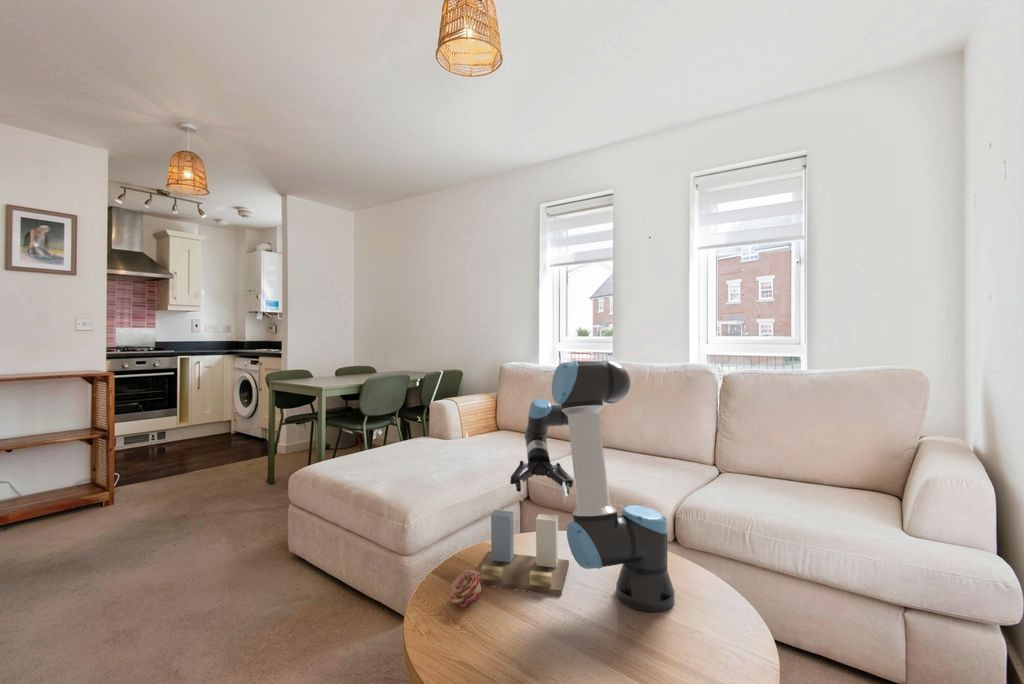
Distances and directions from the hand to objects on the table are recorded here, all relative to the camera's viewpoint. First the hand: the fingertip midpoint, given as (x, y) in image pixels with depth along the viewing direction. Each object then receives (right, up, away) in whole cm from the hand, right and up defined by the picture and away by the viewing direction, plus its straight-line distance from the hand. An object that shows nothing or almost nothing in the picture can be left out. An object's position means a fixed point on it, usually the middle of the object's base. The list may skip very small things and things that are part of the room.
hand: (544, 498), depth 140 cm
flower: (-22, -21, -19) cm, 36 cm away
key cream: (+1, -19, -2) cm, 19 cm away
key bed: (-7, -21, -4) cm, 22 cm away
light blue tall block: (-13, -19, +2) cm, 23 cm away
